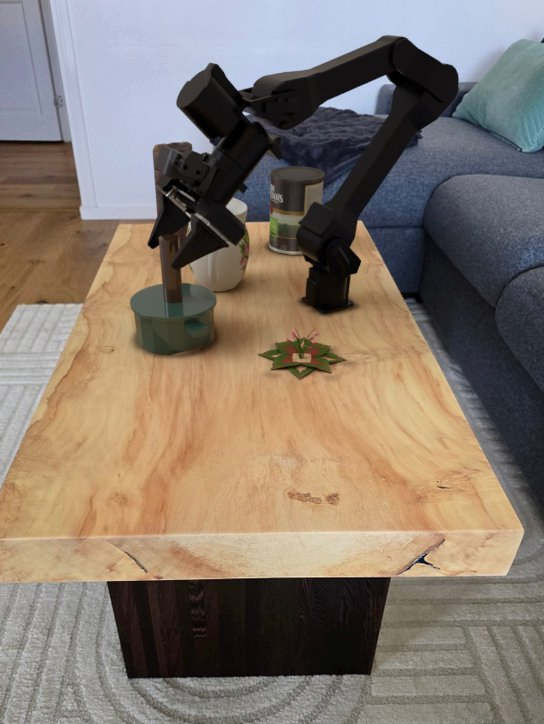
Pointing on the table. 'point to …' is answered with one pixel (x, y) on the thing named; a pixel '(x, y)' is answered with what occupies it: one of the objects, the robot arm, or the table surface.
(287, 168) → the coffee can
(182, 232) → the candle
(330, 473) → the table surface
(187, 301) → the lid
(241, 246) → the pitcher
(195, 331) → the pot
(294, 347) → the lily flower
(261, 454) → the table surface
